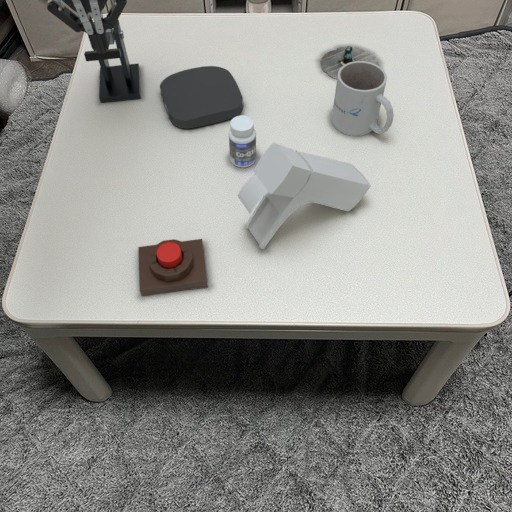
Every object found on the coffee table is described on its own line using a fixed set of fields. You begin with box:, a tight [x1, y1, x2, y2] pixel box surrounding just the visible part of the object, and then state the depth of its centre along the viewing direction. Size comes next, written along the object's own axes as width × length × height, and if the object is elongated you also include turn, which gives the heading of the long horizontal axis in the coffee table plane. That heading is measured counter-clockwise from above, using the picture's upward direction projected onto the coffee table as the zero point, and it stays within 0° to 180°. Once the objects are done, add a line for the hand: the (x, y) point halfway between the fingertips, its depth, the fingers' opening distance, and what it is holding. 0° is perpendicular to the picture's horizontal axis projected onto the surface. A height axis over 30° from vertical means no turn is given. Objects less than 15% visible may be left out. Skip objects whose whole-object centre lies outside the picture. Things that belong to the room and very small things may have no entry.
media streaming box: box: [159, 65, 244, 129], centre depth 101 cm, size 15×15×3 cm
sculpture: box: [319, 45, 381, 80], centre depth 109 cm, size 12×9×8 cm
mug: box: [331, 61, 394, 137], centre depth 94 cm, size 12×9×10 cm
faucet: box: [236, 141, 371, 250], centre depth 81 cm, size 6×16×20 cm
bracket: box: [93, 19, 142, 104], centre depth 101 cm, size 10×8×13 cm
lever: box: [84, 29, 121, 62], centre depth 93 cm, size 12×6×2 cm, turn 9°
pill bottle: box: [228, 114, 257, 168], centre depth 90 cm, size 5×5×8 cm
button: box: [157, 242, 182, 268], centre depth 77 cm, size 4×4×2 cm
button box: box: [138, 238, 209, 297], centre depth 79 cm, size 10×8×4 cm
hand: (101, 50), depth 89 cm, fingers closed
